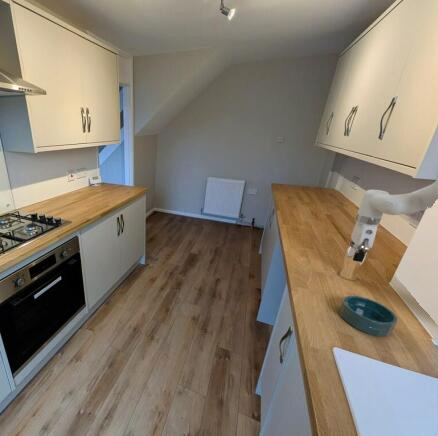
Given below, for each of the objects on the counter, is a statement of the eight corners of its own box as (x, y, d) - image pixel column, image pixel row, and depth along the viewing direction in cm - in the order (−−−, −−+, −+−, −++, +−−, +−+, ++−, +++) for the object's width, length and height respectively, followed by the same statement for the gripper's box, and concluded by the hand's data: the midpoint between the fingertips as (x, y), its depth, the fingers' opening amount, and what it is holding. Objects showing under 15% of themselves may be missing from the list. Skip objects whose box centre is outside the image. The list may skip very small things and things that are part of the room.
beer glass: (340, 270, 113) (349, 242, 108) (359, 276, 108) (370, 247, 103) (336, 275, 109) (346, 246, 104) (355, 282, 104) (366, 252, 99)
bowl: (381, 315, 85) (386, 302, 84) (399, 343, 74) (405, 329, 72) (335, 303, 91) (339, 291, 89) (345, 328, 79) (350, 315, 77)
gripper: (388, 228, 90) (372, 268, 96) (371, 214, 105) (358, 250, 111) (363, 225, 93) (349, 264, 99) (350, 212, 108) (338, 247, 114)
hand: (354, 256), depth 105 cm, fingers closed on beer glass, 7 cm apart
